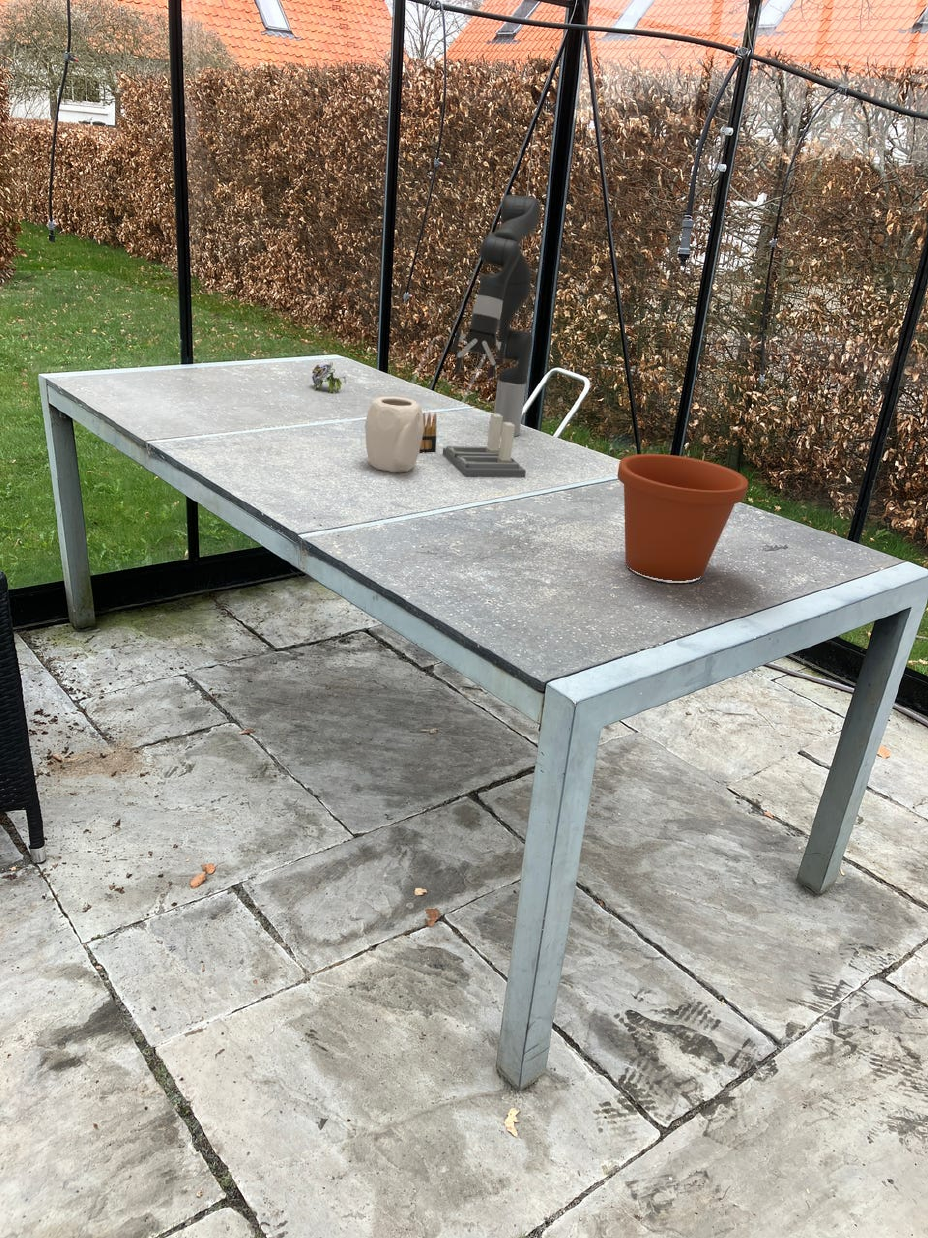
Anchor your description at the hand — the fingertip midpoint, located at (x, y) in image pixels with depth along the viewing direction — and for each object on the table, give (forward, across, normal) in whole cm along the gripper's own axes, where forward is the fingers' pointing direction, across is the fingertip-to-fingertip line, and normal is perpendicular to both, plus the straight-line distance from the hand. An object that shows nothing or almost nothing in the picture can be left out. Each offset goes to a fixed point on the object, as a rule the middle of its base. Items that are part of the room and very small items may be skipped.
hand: (473, 375), depth 265 cm
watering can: (+30, +16, 0) cm, 34 cm away
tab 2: (+22, -13, -12) cm, 28 cm away
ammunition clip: (+25, +13, -20) cm, 34 cm away
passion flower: (+14, +59, -86) cm, 105 cm away
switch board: (+24, -7, -15) cm, 29 cm away
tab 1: (+20, -9, -21) cm, 30 cm away
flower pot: (+34, -57, +49) cm, 82 cm away
